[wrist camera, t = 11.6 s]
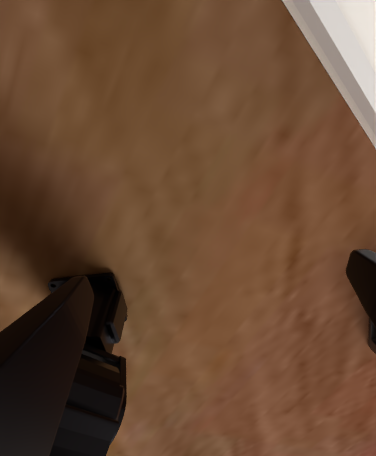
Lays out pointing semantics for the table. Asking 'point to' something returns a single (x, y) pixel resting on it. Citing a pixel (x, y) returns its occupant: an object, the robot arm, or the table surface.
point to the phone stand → (372, 336)
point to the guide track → (344, 49)
